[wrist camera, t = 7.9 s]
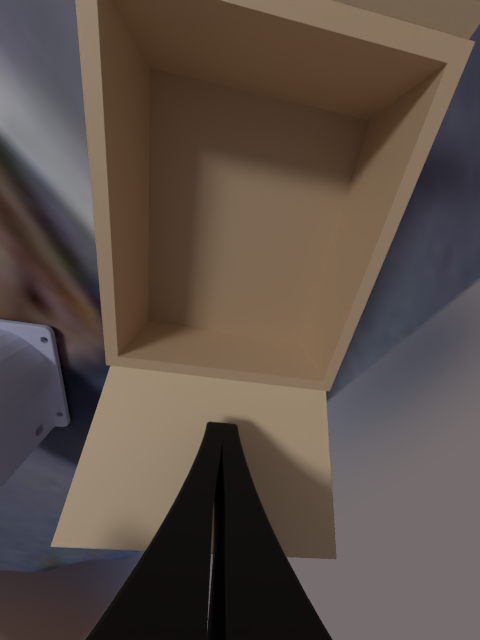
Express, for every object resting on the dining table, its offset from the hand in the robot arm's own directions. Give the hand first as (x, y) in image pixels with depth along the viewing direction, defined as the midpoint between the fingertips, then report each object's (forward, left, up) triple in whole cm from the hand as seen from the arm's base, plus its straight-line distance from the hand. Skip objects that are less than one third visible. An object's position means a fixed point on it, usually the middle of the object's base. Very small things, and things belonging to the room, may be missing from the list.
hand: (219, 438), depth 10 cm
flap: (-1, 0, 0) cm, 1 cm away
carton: (+8, 0, -8) cm, 11 cm away
